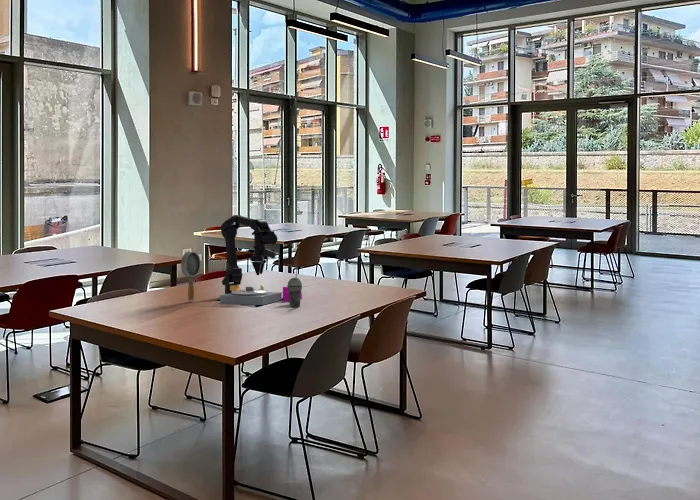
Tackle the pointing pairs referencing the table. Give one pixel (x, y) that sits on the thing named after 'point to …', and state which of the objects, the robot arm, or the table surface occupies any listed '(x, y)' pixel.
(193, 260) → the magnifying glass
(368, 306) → the table surface
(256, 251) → the robot arm
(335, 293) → the table surface
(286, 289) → the toy block
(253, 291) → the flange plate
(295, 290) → the beverage cup
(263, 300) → the jig block
